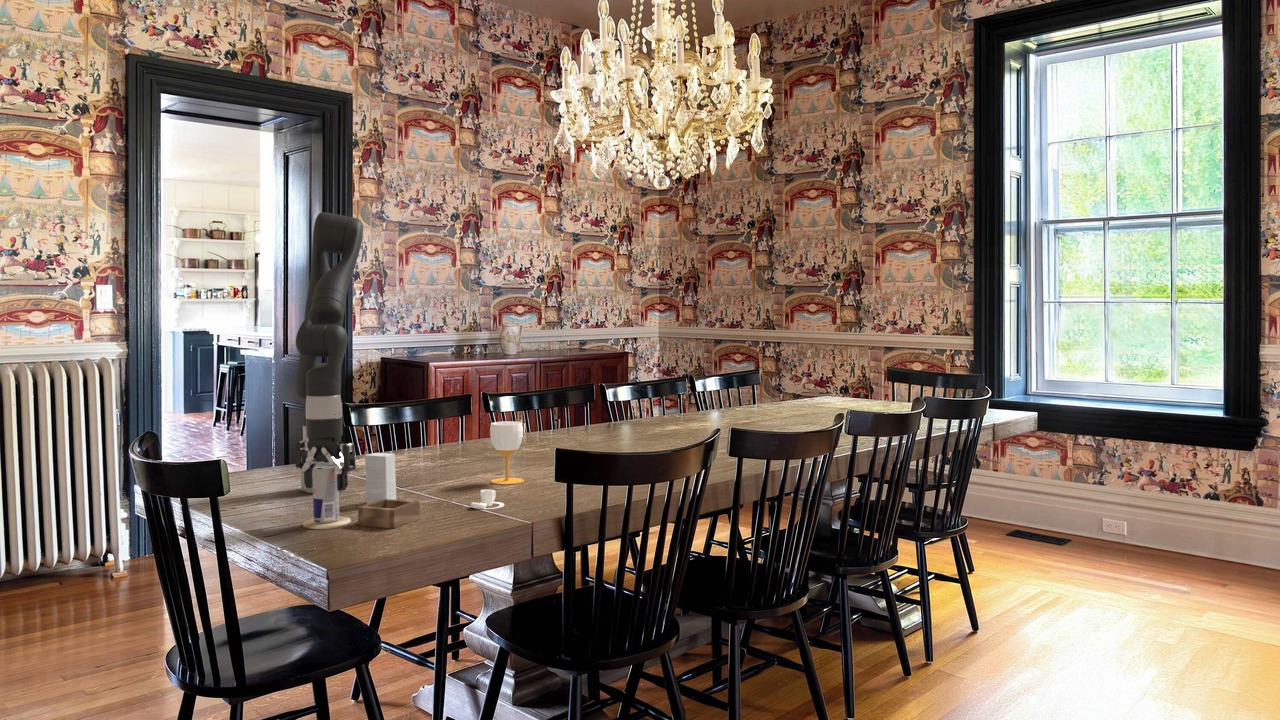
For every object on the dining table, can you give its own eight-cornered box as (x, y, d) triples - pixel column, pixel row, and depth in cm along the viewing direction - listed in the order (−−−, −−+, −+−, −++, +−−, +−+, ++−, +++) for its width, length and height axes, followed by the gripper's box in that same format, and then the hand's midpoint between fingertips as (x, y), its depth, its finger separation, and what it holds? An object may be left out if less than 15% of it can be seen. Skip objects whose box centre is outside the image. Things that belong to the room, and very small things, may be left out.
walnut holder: (358, 525, 199) (357, 507, 199) (384, 515, 208) (384, 498, 207) (394, 528, 196) (394, 510, 195) (419, 518, 204) (419, 501, 204)
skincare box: (397, 502, 222) (395, 453, 222) (386, 505, 218) (385, 456, 218) (375, 500, 224) (374, 452, 224) (365, 504, 220) (364, 455, 220)
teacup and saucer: (475, 513, 212) (475, 495, 212) (462, 506, 219) (462, 490, 218) (509, 508, 217) (509, 491, 216) (496, 502, 223) (495, 486, 223)
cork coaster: (292, 527, 197) (292, 524, 197) (324, 517, 207) (324, 514, 207) (330, 530, 194) (330, 528, 194) (360, 520, 203) (360, 517, 203)
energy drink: (317, 518, 203) (315, 465, 202) (341, 517, 203) (340, 464, 202) (310, 524, 197) (309, 469, 197) (336, 523, 198) (334, 469, 197)
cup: (506, 477, 254) (506, 420, 253) (530, 480, 249) (530, 422, 248) (483, 482, 247) (482, 423, 246) (507, 486, 241) (506, 426, 240)
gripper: (285, 416, 198) (288, 490, 199) (339, 419, 193) (341, 494, 194) (309, 412, 205) (311, 483, 206) (361, 414, 200) (363, 487, 201)
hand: (326, 488), depth 200 cm, fingers open, 8 cm apart
